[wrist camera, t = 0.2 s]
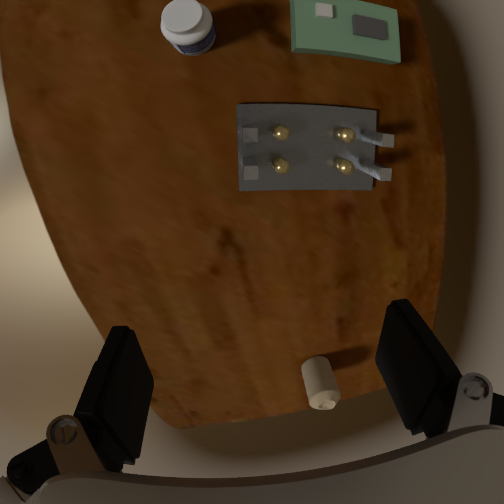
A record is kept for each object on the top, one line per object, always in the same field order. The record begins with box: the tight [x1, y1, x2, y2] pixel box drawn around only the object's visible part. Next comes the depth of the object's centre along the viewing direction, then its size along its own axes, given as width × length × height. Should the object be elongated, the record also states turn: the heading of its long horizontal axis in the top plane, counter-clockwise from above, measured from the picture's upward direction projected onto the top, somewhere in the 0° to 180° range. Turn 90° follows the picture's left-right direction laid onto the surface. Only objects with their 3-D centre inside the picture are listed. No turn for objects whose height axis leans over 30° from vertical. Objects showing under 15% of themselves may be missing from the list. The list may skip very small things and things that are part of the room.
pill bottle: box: [161, 0, 216, 55], centre depth 25 cm, size 5×5×10 cm
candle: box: [302, 356, 341, 410], centre depth 50 cm, size 6×6×10 cm
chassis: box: [237, 104, 394, 191], centre depth 34 cm, size 11×18×7 cm, turn 91°
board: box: [290, 0, 401, 65], centre depth 25 cm, size 7×12×3 cm, turn 91°
